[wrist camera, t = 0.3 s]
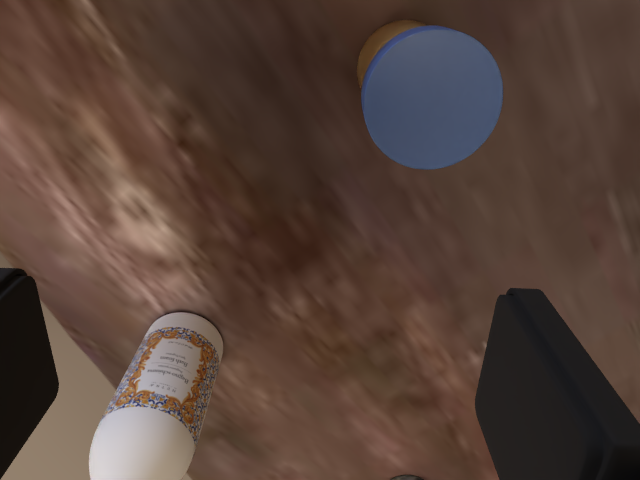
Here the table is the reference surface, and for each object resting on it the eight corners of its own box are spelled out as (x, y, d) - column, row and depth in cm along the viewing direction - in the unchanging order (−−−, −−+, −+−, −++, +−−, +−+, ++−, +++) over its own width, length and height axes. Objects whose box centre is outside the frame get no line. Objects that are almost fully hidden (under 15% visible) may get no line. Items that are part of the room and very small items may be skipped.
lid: (442, -7, 25) (452, -7, 23) (516, 100, 27) (531, 109, 25) (334, 88, 27) (335, 96, 25) (411, 180, 29) (418, 194, 27)
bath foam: (233, 322, 45) (170, 543, 27) (214, 379, 48) (146, 611, 30) (156, 299, 44) (39, 512, 26) (141, 359, 47) (27, 586, 29)
